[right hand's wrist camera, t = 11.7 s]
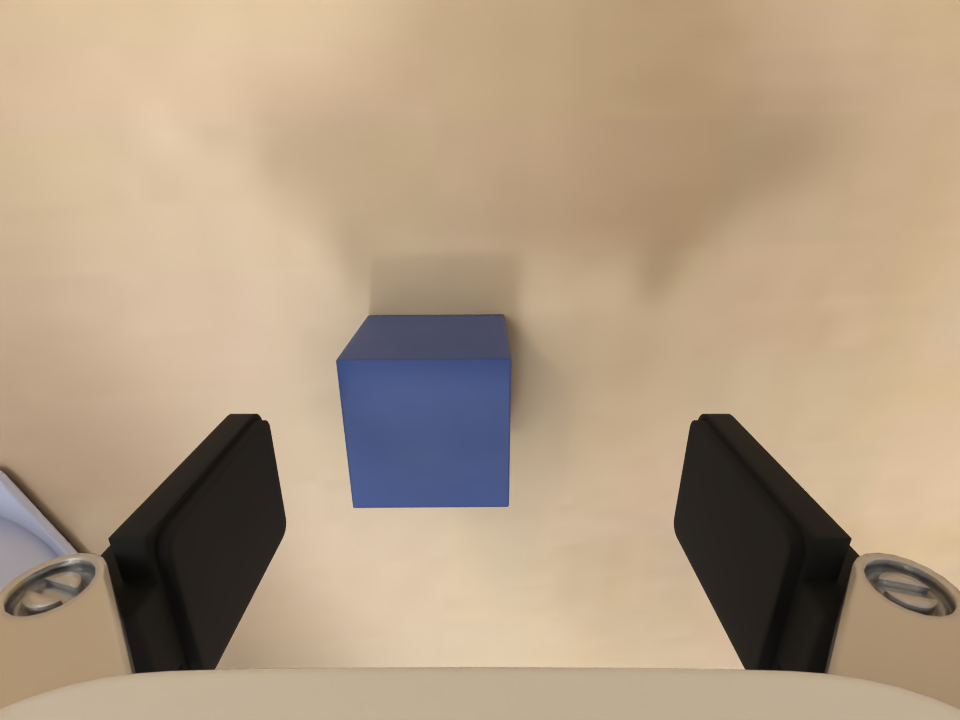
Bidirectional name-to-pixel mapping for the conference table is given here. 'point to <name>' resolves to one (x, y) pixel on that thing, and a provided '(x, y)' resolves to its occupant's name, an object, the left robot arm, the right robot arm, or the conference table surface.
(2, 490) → the left robot arm
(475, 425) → the brick
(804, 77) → the conference table surface
